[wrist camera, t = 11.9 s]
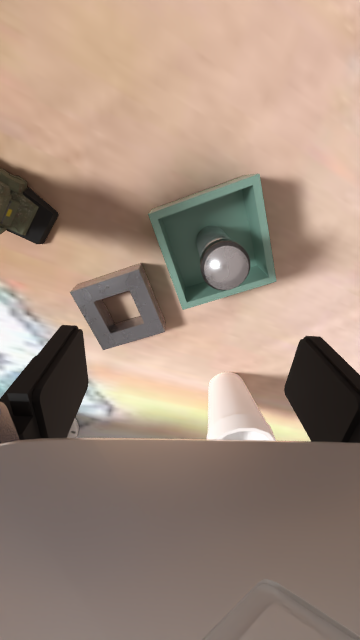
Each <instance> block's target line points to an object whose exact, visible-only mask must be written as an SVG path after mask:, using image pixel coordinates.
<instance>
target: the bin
mask: <svg viewBox="0 0 360 640" xmlns="http://www.w3.org/2000/svg"><path fill="white" fill-rule="evenodd" d="M148 215H149V218H150V221H151V224H152V226H153V229H154V232H155V235H156V237H157V240H158V243H159V246H160V249H161V251H162V254H163V257H164V260H165V262H166V265H167V268H168V271H169V273H170V276H171V279H172V282H173V284H174V287H175V290H176V293H177V295H178V298H179V301H180V304H181V306H182V309H183V310H184V309H187V308H191V307H194V306H197V305H201V304H204V303H207V302H210V301H214V300H217V299H220V298H224V297H227V296H230V295H233V294H237V293H240V292H243V291H247V290H250V289H253V288H257V287H260V286H263V285H266V284H270V283H273V282H276V275H275V268H274V262H273V256H272V250H271V243H270V237H269V231H268V224H267V218H266V212H265V206H264V199H263V193H262V187H261V180H260V174H251V175H244V176H241V177H239V178H236V179H233V180H230V181H228V182H225V183H222V184H219V185H217V186H214V187H211V188H208V189H206V190H203V191H200V192H198V193H195V194H192V195H189V196H187V197H184V198H181V199H178V200H176V201H173V202H170V203H167V204H165V205H162V206H159V207H157V208H154V209H152V210H151V211H150V212H149V214H148ZM207 226H217V227H219V228H221V229H222V230H223V231H224V232H225V233H226V235H227V236H228V237H229V238H230V239H231V240H234V241H236V242H237V243H239V244H240V245H241V246H242V247H243V248H244V249H245V250H246V252H247V253H248V255H249V258H250V271H249V274H248V276H247V278H246V279H245V280H244V281H243V283H241V284H240V285H239V286H237V287H236V288H233V289H231V290H217V289H214V288H212V287H210V286H209V285H208V284H207V283H206V282H205V281H204V279H203V277H202V273H201V270H200V256H199V252H198V249H197V245H196V239H197V236H198V234H199V232H200V231H201V230H202V229H203V228H205V227H207Z"/></svg>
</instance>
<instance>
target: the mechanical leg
mask: <svg viewBox="0 0 360 640" xmlns="http://www.w3.org/2000/svg"><path fill="white" fill-rule="evenodd" d="M57 217H58V212H57V211H56V210H54V209H53V208H52V207H51V206H50V205H49V204H47V203H46V202H45V201H44V200H43V199H42V198H40V197H39V196H38V195H37V194H36V193H35V192H33V191H32V190H31V189H30V188H29V187H28V188H27V181H25V180H24V179H22V178H21V177H19V176H14V175H12V174H9V173H8V172H7V171H5V170H4V169H1V168H0V234H2V233H3V232H4V231H5V230H7V231H9V232H11V233H14V234H16V235H18V236H20V237H22V238H25V239H27V240H29V241H31V242H33V243H36V244H43V243H44V242H45V240H46V238H47V236H48V234H49V232H50V230H51V228H52V227H53V225H54V223H55V221H56V219H57Z"/></svg>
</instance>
